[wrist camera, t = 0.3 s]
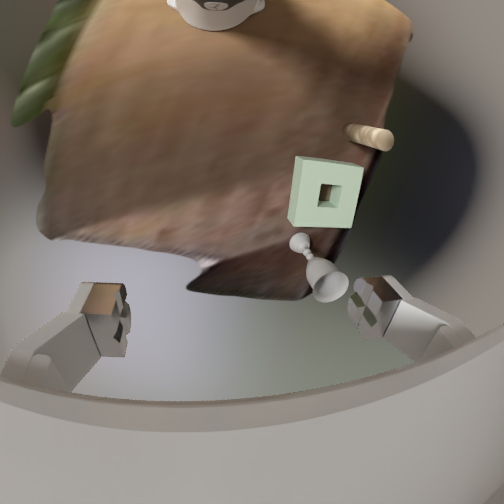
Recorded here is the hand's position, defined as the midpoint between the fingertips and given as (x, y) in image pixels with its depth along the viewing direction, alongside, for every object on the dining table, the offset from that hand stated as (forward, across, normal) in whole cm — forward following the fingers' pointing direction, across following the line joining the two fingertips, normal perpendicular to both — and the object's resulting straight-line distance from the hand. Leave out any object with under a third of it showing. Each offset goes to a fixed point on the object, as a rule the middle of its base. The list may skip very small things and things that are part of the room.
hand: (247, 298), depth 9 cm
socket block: (+47, -25, +9) cm, 54 cm away
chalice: (+47, -22, +22) cm, 56 cm away
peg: (+47, -30, -6) cm, 56 cm away
